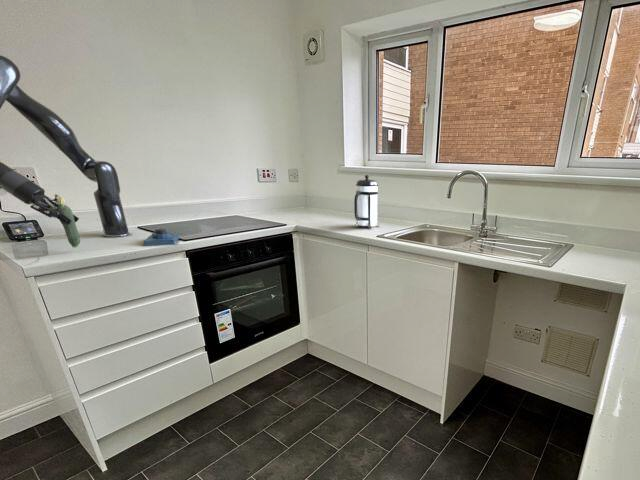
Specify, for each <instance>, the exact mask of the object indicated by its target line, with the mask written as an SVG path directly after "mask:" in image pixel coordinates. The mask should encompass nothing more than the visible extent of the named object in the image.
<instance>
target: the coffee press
mask: <svg viewBox="0 0 640 480" xmlns="http://www.w3.org/2000/svg"><path fill="white" fill-rule="evenodd" d="M369 178H370V176H369V174H365V175H364V179H359V180H357V181H356V183H355V186H356V190H355V195H354V201H353V203H354V206H353V207H354V208H353V209H354V218H355V220H356V222H355V224H354V227H355V228H358V227H359V226H360V227H367V229H368V230H371V229H372V227H374V226H376V227H377V228H379V227H380V225H379V223H378V193H379V192H378V186H379V184H378V182H377V180H375V179H369Z"/></svg>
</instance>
